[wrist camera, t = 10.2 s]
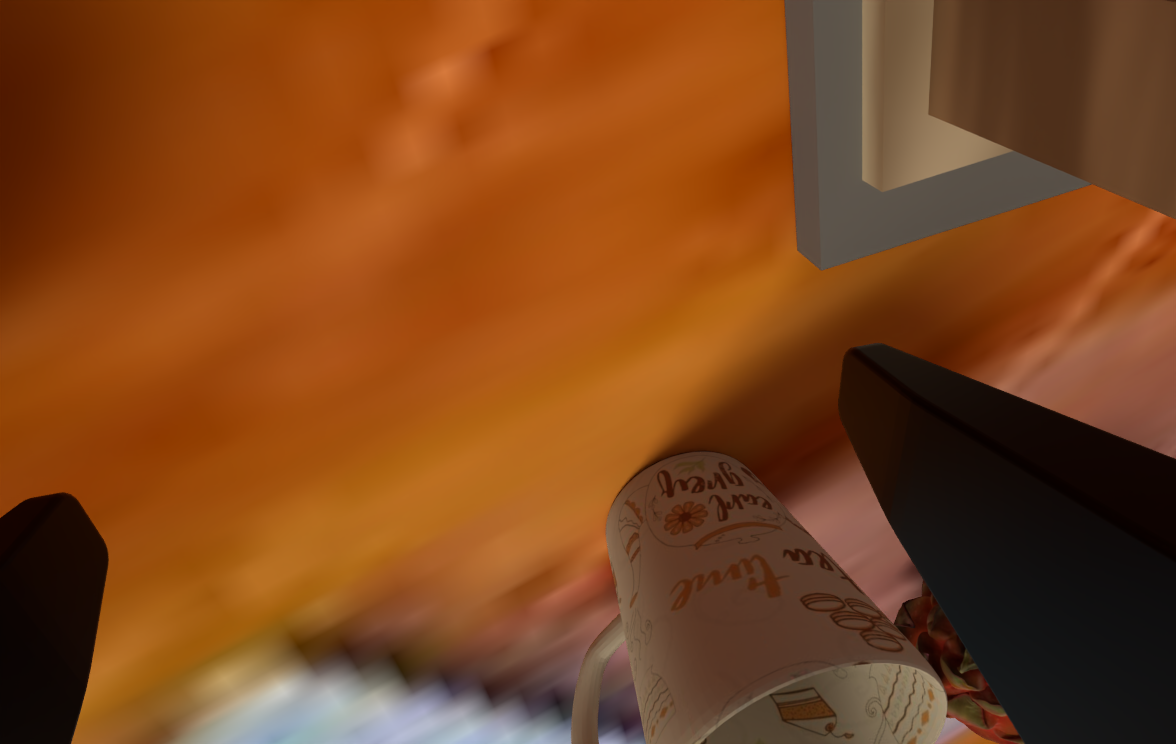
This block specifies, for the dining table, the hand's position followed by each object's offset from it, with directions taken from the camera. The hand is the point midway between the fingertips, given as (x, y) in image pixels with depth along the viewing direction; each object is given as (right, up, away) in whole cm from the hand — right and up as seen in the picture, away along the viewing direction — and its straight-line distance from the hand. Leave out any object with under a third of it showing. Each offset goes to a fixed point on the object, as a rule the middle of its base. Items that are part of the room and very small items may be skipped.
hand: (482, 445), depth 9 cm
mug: (+3, -6, +21) cm, 22 cm away
